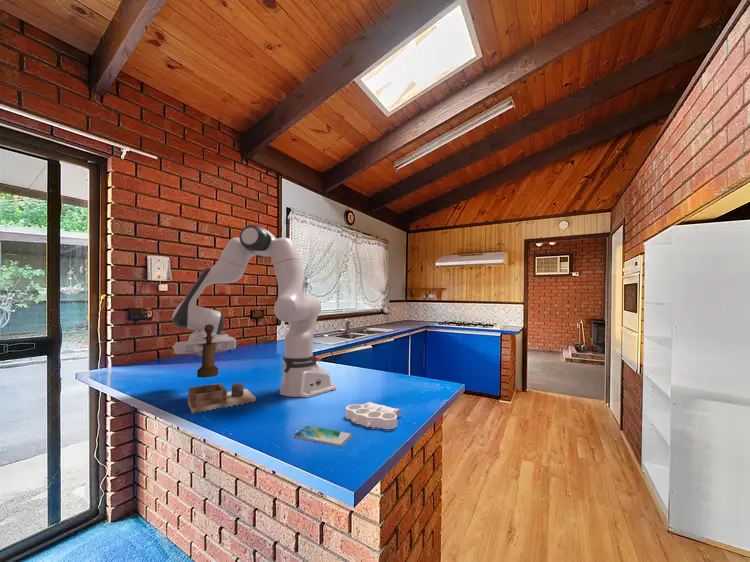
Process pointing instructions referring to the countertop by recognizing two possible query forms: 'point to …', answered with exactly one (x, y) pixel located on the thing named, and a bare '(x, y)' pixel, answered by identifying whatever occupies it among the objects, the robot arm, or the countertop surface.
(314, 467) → the countertop surface
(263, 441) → the countertop surface
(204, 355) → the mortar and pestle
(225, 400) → the holder stand
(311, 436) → the smartphone
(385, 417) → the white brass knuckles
